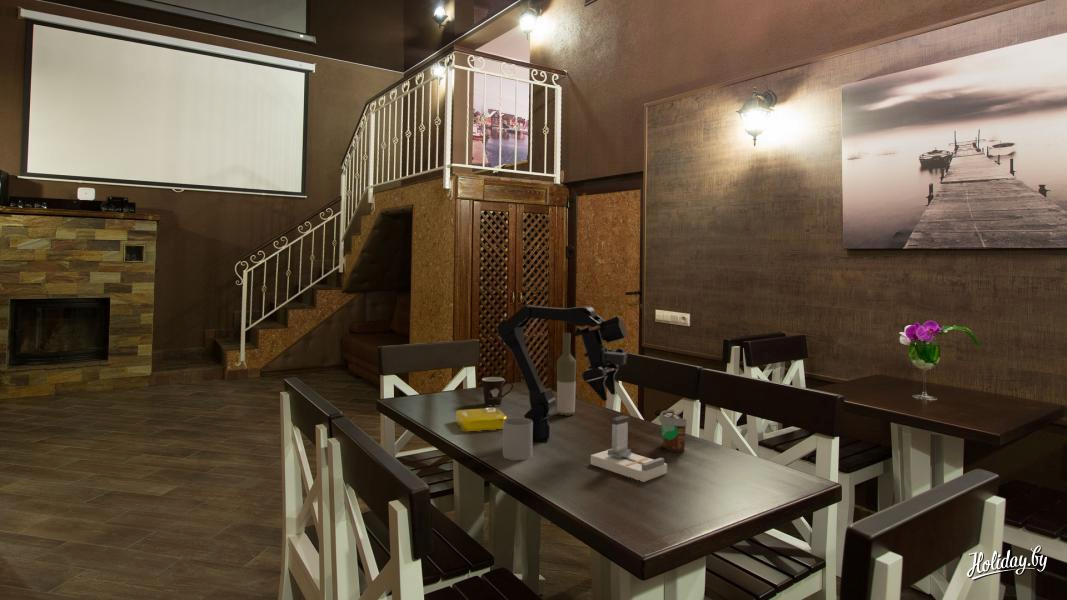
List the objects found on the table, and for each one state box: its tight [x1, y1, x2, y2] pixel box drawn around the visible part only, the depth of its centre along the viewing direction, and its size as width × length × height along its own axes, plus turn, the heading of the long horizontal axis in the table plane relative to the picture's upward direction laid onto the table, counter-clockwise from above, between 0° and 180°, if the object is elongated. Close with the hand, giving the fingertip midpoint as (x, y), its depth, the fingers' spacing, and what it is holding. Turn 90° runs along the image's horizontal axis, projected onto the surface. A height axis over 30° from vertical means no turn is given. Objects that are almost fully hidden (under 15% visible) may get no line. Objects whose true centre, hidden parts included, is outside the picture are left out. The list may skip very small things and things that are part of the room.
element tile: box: [455, 407, 508, 432], centre depth 203 cm, size 15×15×5 cm
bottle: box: [556, 332, 577, 417], centre depth 218 cm, size 7×7×30 cm
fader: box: [607, 415, 632, 459], centre depth 162 cm, size 4×6×10 cm
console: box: [590, 448, 668, 483], centre depth 160 cm, size 18×10×4 cm, turn 42°
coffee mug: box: [481, 376, 514, 407], centre depth 232 cm, size 12×9×10 cm
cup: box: [502, 417, 533, 461], centre depth 170 cm, size 8×8×10 cm
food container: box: [658, 409, 687, 452], centre depth 180 cm, size 12×6×10 cm, turn 5°
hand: (609, 397), depth 177 cm, fingers open, 9 cm apart
